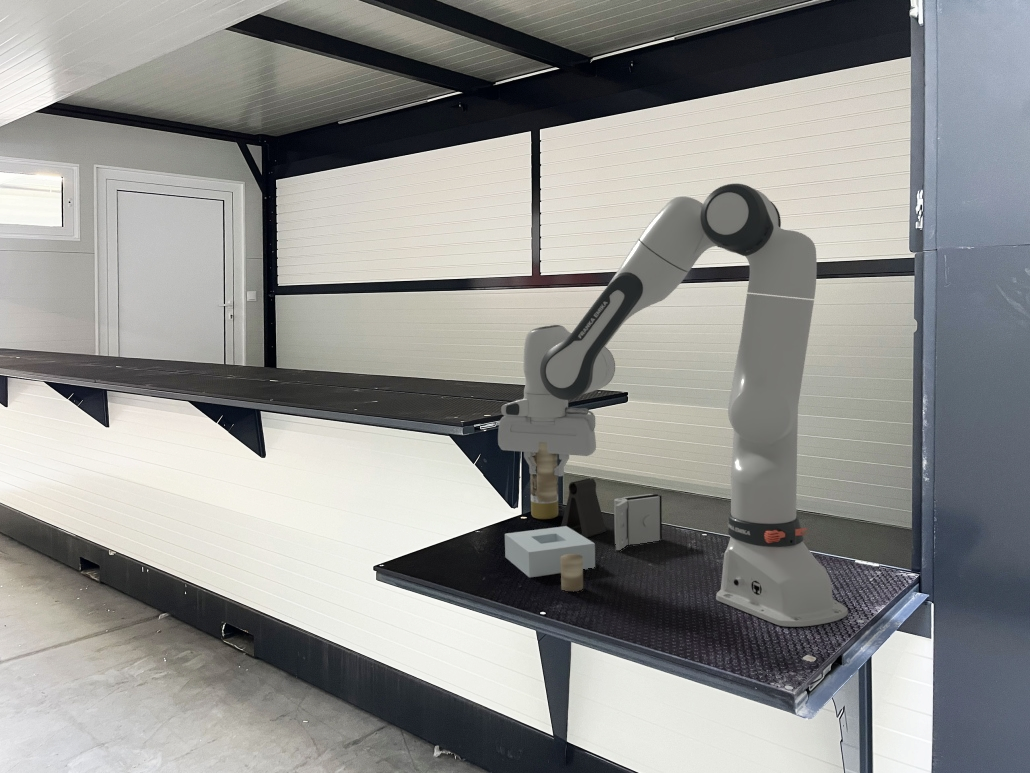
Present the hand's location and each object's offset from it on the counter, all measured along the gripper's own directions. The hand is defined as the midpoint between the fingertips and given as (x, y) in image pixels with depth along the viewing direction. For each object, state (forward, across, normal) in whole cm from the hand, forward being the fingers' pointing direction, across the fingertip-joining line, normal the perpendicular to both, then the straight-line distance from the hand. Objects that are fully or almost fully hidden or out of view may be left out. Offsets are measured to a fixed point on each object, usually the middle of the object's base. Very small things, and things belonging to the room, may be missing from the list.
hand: (546, 474), depth 162 cm
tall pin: (+5, 0, 0) cm, 5 cm away
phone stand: (+18, +1, -24) cm, 30 cm away
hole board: (+18, 0, 0) cm, 18 cm away
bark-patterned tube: (+18, +14, -33) cm, 41 cm away
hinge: (+18, -13, -18) cm, 29 cm away
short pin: (+18, -10, +13) cm, 24 cm away
